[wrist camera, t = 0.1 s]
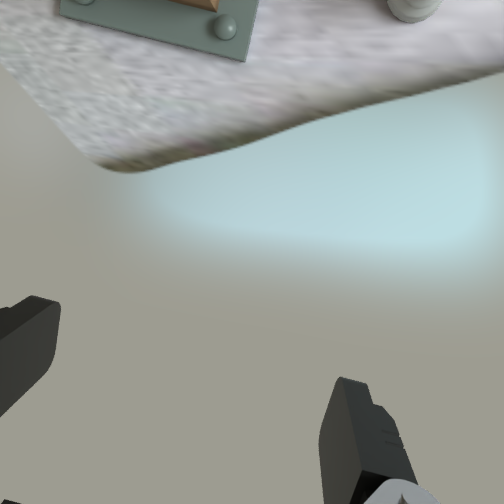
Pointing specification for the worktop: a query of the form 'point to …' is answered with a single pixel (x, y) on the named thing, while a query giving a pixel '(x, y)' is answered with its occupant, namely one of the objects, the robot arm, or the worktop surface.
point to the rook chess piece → (413, 9)
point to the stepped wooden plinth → (200, 4)
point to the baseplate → (174, 22)
